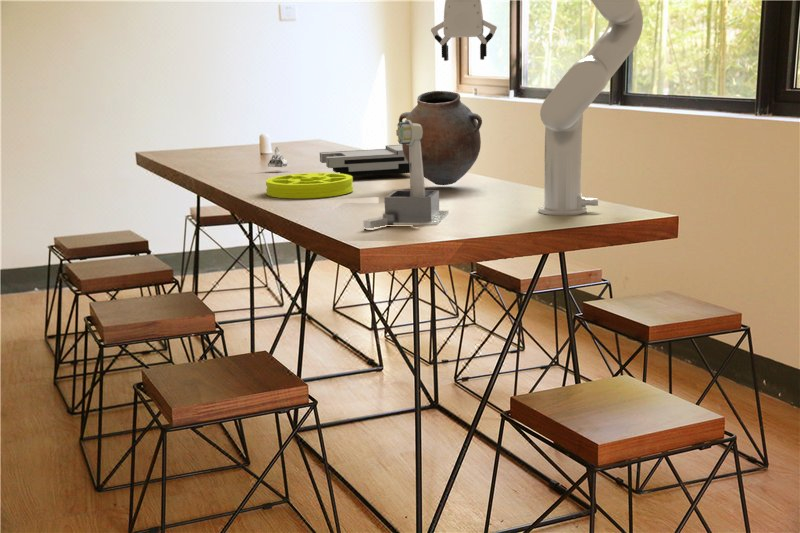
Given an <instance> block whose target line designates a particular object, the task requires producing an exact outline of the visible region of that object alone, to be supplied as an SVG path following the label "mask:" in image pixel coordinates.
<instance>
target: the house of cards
mask: <svg viewBox="0 0 800 533" xmlns="http://www.w3.org/2000/svg"><path fill="white" fill-rule="evenodd" d="M267 167H269V168H285V167H289V164H288V161H287V159H286V158H284V157H283V155H281V150H280V148H279V146H276V147H275V149H274V154H273V155H272V156H271V158H270V159H269V162H268V163H267Z"/></svg>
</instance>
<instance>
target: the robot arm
mask: <svg viewBox="0 0 800 533" xmlns="http://www.w3.org/2000/svg"><path fill="white" fill-rule="evenodd" d="M590 1H591V2H592V4H593V5H594V6H595V8H596V9H597V11H598V12H599V13H600V14H601V16H602V17H603V18H604V19H605V20H606V21H607V22H608V24H607V28H606V30H605V31H603V33H602V34H601V36H600V37H599V38H598V39H597V41H596V43H594V45H593V46H592V47H591V49H590V50H589V51H588V52H587V54H585V55H584V57H583V58H581V59H579V60H578V61H576V62H575V63H574V64H572V66H570V68H569V69H568V70H567V71H566V73H565V74H564V75H563V76H562V77H561V79H560V80H559V82H558V83H557V84H556V85H555V87H554V88H553V89H552V91H550V93H548V94H549V95H547V97H546V98H545V99H544V100H543V101H542V104H541V105H540V106H541V107H540V111H539V112H540V113H539V116H540V120H541V122H542V125H544V126H545V133H544V196H543V197H544V205H541V206H539V207H538V212H539V213H540V214H542V215H547V216H559V217H560V216H561V217H562V216H578V215H583V214H585V213H586V212H587V209H588V208H587V207H586V206H591V207H598V206H599V198H593V197H588V198H587V197H585V196H583V193H582V190H581V189H582V146H583V145H582V144H583V143H582V141H583V140H582V138H583V123H584V122H583V120H584V113H585V112H586V110H587V109H588V108H589V107H590V106H591V104H592V103H593V102H594V100H595V99H596V98H597V97H598V96H599V94H600V93H601V92H602V91H604V89H605V88H606V86H607V85H608V83H609V81H610V80H611V79H612V77H613V76H614V75H615V74H616V72H618V70H619V69H620V68H621V66H622V65H623V63H624V62H625V61H626V59H627V58H628V57H629V55H630V54H631V53H632V51H634V49H635V47H636V45H637V44H638V42H639V41H640V37H641V34H642V31H643V24H644V16H643V11H642V8H641V5H640V3H639V0H590ZM483 16H484V14H483V6H482V1H481V0H445V1H444V10H443V21H442V22H440V23H439V24H436V25H435V26H433V27H432V28H431V29H430V32H431V34H432V35H433V37H434V39H435V40H436V41H437V42H438V43H439V44H440V46H441V58H443V61H444V62H447V61H449V45H448V42H450V41H449V40H450V39H451V38H478V40H479V41H480V44H479V59H480V60H481V61H483V60H485V58H486V57H487V54H488V53H487V52H488V50H487V48H488V47H487V44H488V43H489V42H490V41H491V39H492V38H493V37H494V34H495V33H496V31H497V30H498V26H496V25H495V24H492V23H491V22H489V21H486V20H484V17H483ZM484 27H486V28H488V29H489V33H488V34H487V35H485V36H484V34H483V33H484ZM441 29H443V35H444V36H443V37H441V36H440V34H439V31H440V30H441Z"/></svg>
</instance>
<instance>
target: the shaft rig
mask: <svg viewBox="0 0 800 533" xmlns="http://www.w3.org/2000/svg"><path fill="white" fill-rule="evenodd" d="M448 215H449V210H440V190H438V189H437V190H436V189H435V190H434V189H431V190H429V189H427V190H426V189H425V197H410V189H408V190H407V189H396V190H395V189H394V190H393V191H391V192H390V193H389V194H387V195H386V196H384V213H382V216H377V217H373V218H370V219H369V218H368V219H365V220H363V228H364V227H365V228H374V227H380V226H385V225H414V226H438V225H439V224H440V223H441V222H442V221H443V220H444V219H445V218H446V217H447V216H448Z"/></svg>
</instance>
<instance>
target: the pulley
mask: <svg viewBox="0 0 800 533" xmlns="http://www.w3.org/2000/svg"><path fill="white" fill-rule="evenodd" d="M353 181H354V176H353V177H352V176H351V175H347V174H340V172H339V173H335V172H304V173H293V174H284V175H278V176H273V177H269V178H267V179H266V180H265V186H266V195H267V196H268V197H273V198H280V199H318V198H320V199H321V198H329V197H330V198H331V197H336V196H342V195H347V194H349V193H352V192H353V191H354V185H353Z"/></svg>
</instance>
